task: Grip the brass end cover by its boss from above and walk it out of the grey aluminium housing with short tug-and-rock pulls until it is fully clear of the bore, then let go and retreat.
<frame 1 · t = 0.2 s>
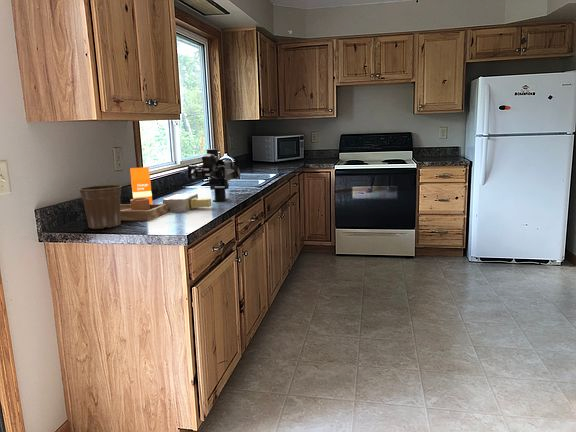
hand: (200, 174, 210), 17 cm above the countertop, tool horizontal, fingers open, 9 cm apart
plant pot: (105, 226, 184), on the countertop
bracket: (132, 216, 203), resting in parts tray
bearing housing: (181, 208, 218), on the countertop
end cover: (194, 202, 216), point 3 cm above the countertop, slide at 0.0 cm
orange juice: (143, 208, 225), on the countertop
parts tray: (132, 216, 203), on the countertop
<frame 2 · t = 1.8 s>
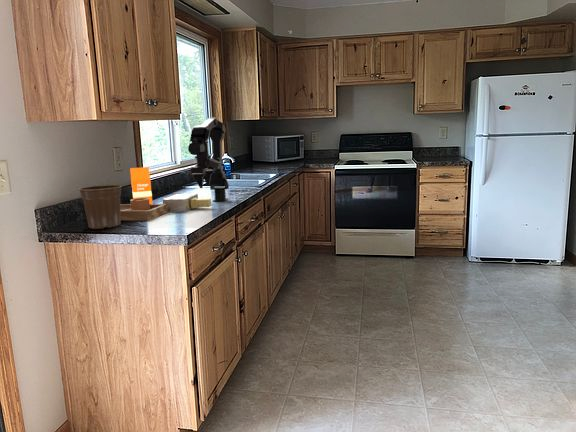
hand: (204, 186, 213), 11 cm above the countertop, tool pointing down, fingers open, 9 cm apart
nothing on the countertop moved.
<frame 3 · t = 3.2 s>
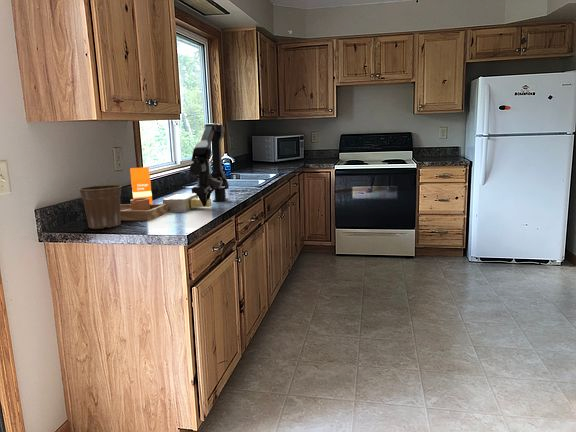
hand: (206, 205, 215), 2 cm above the countertop, tool pointing down, fingers closed on end cover, 3 cm apart
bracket: (132, 216, 203), resting in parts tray
end cover: (194, 202, 216), point 3 cm above the countertop, slide at 0.0 cm, touching gripper
everything else where it was.
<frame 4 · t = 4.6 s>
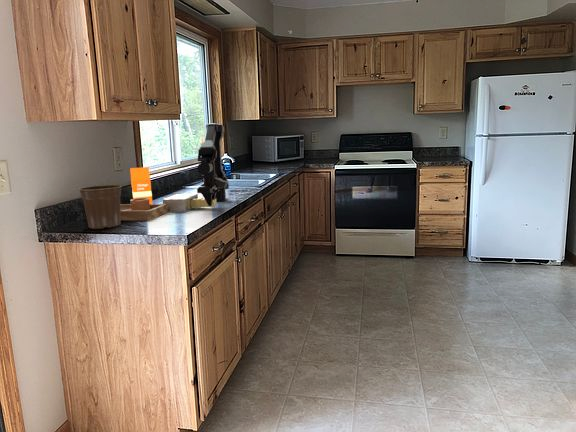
hand: (211, 205, 215), 2 cm above the countertop, tool pointing down, fingers closed on end cover, 3 cm apart
end cover: (199, 202, 215), point 3 cm above the countertop, slide at 2.6 cm, touching gripper
everything else where it was.
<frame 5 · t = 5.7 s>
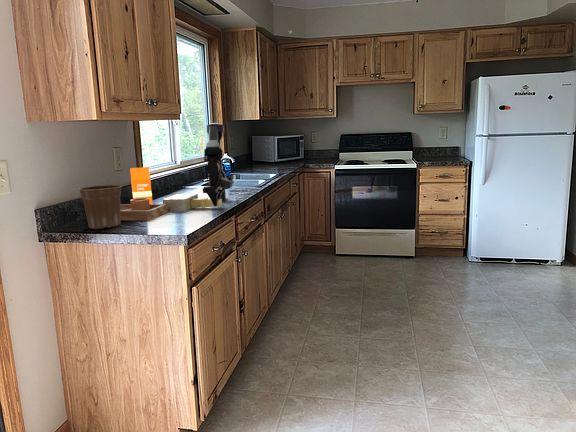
hand: (216, 205, 214), 2 cm above the countertop, tool pointing down, fingers closed on end cover, 3 cm apart
end cover: (204, 202, 215), point 3 cm above the countertop, slide at 5.3 cm, touching gripper
everything else where it was.
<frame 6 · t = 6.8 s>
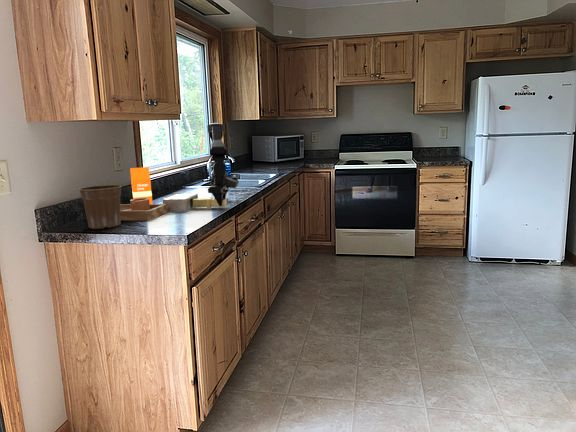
hand: (221, 205, 214), 2 cm above the countertop, tool pointing down, fingers closed on end cover, 3 cm apart
end cover: (209, 202, 215), point 3 cm above the countertop, slide at 7.8 cm, touching gripper
everything else where it was.
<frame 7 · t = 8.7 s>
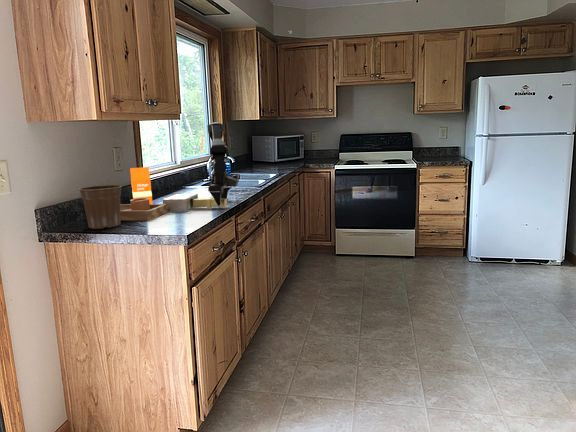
hand: (222, 203, 214), 2 cm above the countertop, tool pointing down, fingers open, 9 cm apart
end cover: (210, 202, 215), point 3 cm above the countertop, slide at 7.9 cm
everything else where it was.
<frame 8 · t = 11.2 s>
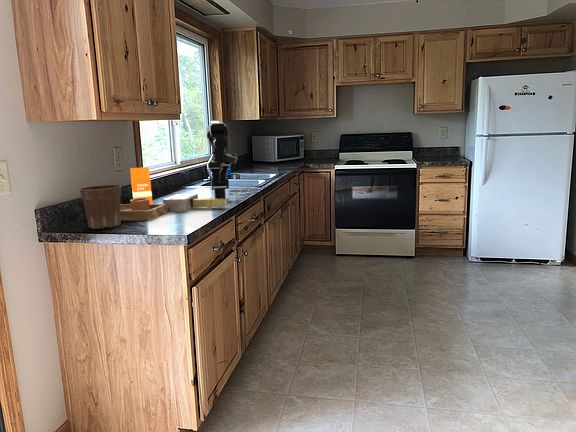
hand: (221, 181, 221), 12 cm above the countertop, tool pointing down, fingers open, 9 cm apart
nothing on the countertop moved.
at the end: end cover slide at 7.9 cm; the gripper is holding nothing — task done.
